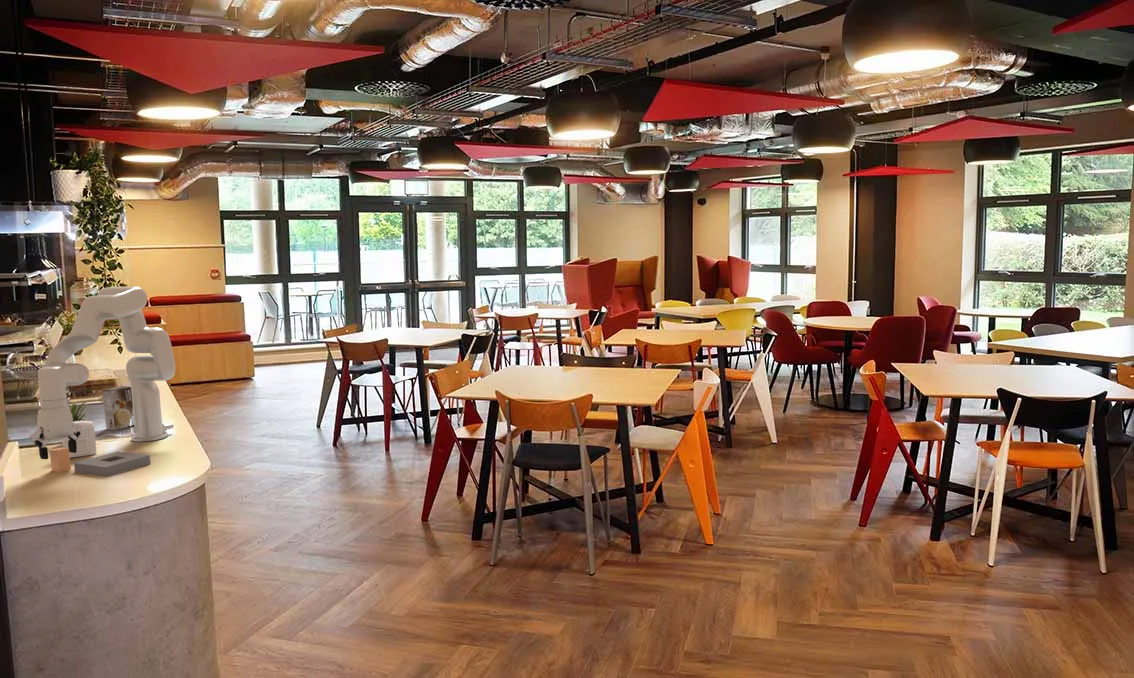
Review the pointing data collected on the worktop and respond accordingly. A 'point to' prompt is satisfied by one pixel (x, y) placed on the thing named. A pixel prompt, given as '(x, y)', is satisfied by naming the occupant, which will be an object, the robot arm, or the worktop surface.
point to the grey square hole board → (112, 463)
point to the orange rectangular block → (60, 459)
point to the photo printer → (83, 440)
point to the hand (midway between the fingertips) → (58, 455)
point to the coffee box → (117, 407)
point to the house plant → (73, 411)
